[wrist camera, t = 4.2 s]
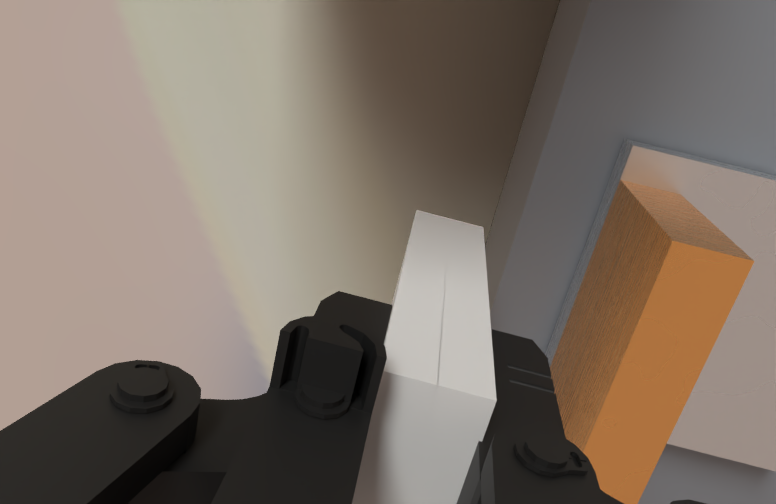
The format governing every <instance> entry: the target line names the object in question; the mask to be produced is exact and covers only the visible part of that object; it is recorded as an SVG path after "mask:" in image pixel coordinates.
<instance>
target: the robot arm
mask: <svg viewBox="0 0 776 504" xmlns="http://www.w3.org/2000/svg"><path fill="white" fill-rule="evenodd" d="M554 391H555V389H554V384H553V380H552V379H551V371H550V367H549V362H548V358H547V357H546V355H545V354H544V353H543V352H542V351H541V349H540V348H539V347H538V346H537V345H536V343H535V342H534V341H533V340H532V339H528V338H524V337H520V336H516V335H513V334H509V333H505V332H501V331H497V330H493V329H491V320H490V307H489V294H488V281H487V268H486V255H485V242H484V229H483V227H482V226H478V225H474V224H470V223H466V222H462V221H458V220H455V219H451V218H447V217H443V216H439V215H435V214H431V213H427V212H424V211H420V210H416V213H415V217H414V220H413V224H412V228H411V232H410V236H409V239H408V243H407V247H406V251H405V255H404V258H403V262H402V266H401V270H400V274H399V277H398V281H397V285H396V289H395V293H394V296H393V300H392V304H391V305H390V304H386V303H382V302H378V301H374V300H370V299H367V298H363V297H359V296H355V295H351V294H347V293H344V292H340V291H338V292H336V293H334V294H333V295H331V296H329V297H327V298H325V299H324V300H322V301H321V302H320V304H319V306H318V309H317V311H316V313H315V315H314V316H309V317H302V318H299V319H296V320H293V321H290V322H289V323H288V324H287V325H286V326H285V327H283V328H282V329H281V330H280V336H279V341H278V346H277V351H276V356H275V362H274V367H273V372H272V377H271V382H270V387H269V389H268V391H267V393H265V394H262V395H260V396H257V397H252V398H248V399H242V400H241V399H240V400H215V399H200V397H201V396H200V395H201V389H200V387H199V385H198V384H197V382H196V381H195V379H194V378H193V376H191V375H190V374H188V373H186V372H185V371H183V370H182V369H180V368H179V367H176V366H172V365H169V364H166V363H162V362H158V361H142V360H135V361H129V362H123V363H117V364H113V365H111V366H108V367H106V368H104V369H101V370H99V371H96V372H95V373H93V374H92V375H90V376H88V377H87V378H85V379H83V380H82V381H80V382H79V383H77V384H75V385H74V386H72V387H71V388H69V389H67V390H66V391H64V392H62V393H61V394H59V395H58V396H56V397H54V398H53V399H51V400H49V401H48V402H46V403H45V404H43V405H42V406H40V407H38V408H37V409H35V410H33V411H32V412H30V413H28V414H27V415H25V416H24V417H22V418H20V419H19V420H17V421H16V422H14V423H13V424H11V425H9V426H7V427H6V428H4V429H3V430H1V431H0V504H624V503H622V502H620V501H618V500H617V499H615V498H613V497H611V496H610V495H608V494H606V493H605V492H603V491H602V490H601V489H600V487H599V483H598V480H597V476H596V472H595V470H594V468H593V466H592V464H591V463H590V461H589V459H588V457H587V456H586V455H585V454H584V453H583V452H582V451H581V450H580V449H579V448H578V447H577V446H576V445H575V444H574V443H572V442H570V441H569V440H567V439H566V437H565V433H564V428H563V424H562V420H561V415H560V411H559V406H558V402H557V398H556V394H554ZM670 504H706V503H702V502H698V501H693V500H689V499H688V500H677V501H672V502H671V503H670Z"/></svg>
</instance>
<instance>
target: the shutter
mask: <svg viewBox="0 0 776 504" xmlns="http://www.w3.org/2000/svg"><path fill="white" fill-rule="evenodd" d="M545 355H546V357H547V358H548V362H549V367H550V371H551V379H552V380H553V384H554V389H555V391H554V394H556V398H557V402H558V406H559V411H560V415H561V420H562V424H563V428H564V433H565V437H566V439H567V440H569V441H570V442H572V443H574V444H575V445H576V446H577V447H578V448H579V449H580V450H581V451H582V452H583V453H584V454H585V455H586V456H587V457H588V459H589V461H590V463H591V464H592V466H593V468H594V470H595V472H596V476H597V480H598V483H599V487H600V489H601V490H602V491H603V492H605V493H606V494H608V495H610V496H611V497H613V498H615V499H617V500H618V501H620V502H622V503H624V504H638V502H639V500H640V498H641V495H642V493H643V491H644V489H645V487H646V485H647V483H648V481H649V479H650V477H651V475H652V473H653V471H654V469H655V466H656V464H657V462H658V460H659V458H660V456H661V454H662V452H663V450H664V448H665V446H666V444H670V445H674V446H678V447H682V448H686V449H690V450H694V451H698V452H702V453H706V454H709V455H713V456H717V457H721V458H725V459H729V460H733V461H737V462H741V463H745V464H749V465H752V466H756V467H760V468H764V469H768V470H772V471H776V175H772V174H768V173H764V172H760V171H756V170H751V169H747V168H743V167H739V166H735V165H731V164H727V163H723V162H719V161H715V160H711V159H707V158H703V157H699V156H695V155H691V154H687V153H683V152H678V151H674V150H670V149H666V148H662V147H658V146H654V145H650V144H646V143H642V142H638V141H634V140H630V139H626V138H625V139H624V142H623V145H622V147H621V150H620V153H619V155H618V158H617V161H616V164H615V166H614V169H613V172H612V174H611V177H610V180H609V182H608V185H607V188H606V191H605V193H604V196H603V199H602V201H601V204H600V207H599V210H598V212H597V215H596V218H595V220H594V223H593V226H592V229H591V231H590V234H589V237H588V239H587V242H586V245H585V248H584V250H583V253H582V256H581V258H580V261H579V264H578V266H577V269H576V272H575V275H574V277H573V280H572V283H571V285H570V288H569V291H568V294H567V296H566V299H565V302H564V304H563V307H562V310H561V313H560V315H559V318H558V321H557V323H556V326H555V329H554V332H553V334H552V337H551V340H550V342H549V345H548V348H547V350H546V353H545Z"/></svg>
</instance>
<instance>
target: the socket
mask: <svg viewBox="0 0 776 504" xmlns="http://www.w3.org/2000/svg"><path fill="white" fill-rule="evenodd" d="M625 138H626V139H630V140H634V141H638V142H642V143H646V144H650V145H654V146H658V147H662V148H666V149H670V150H674V151H678V152H683V153H687V154H691V155H695V156H699V157H703V158H707V159H711V160H715V161H719V162H723V163H727V164H731V165H735V166H739V167H743V168H747V169H751V170H756V171H760V172H764V173H768V174H772V175H776V0H560V2H559V5H558V9H557V12H556V15H555V19H554V22H553V25H552V28H551V32H550V35H549V38H548V42H547V45H546V48H545V51H544V55H543V58H542V61H541V65H540V68H539V71H538V74H537V78H536V81H535V84H534V87H533V91H532V94H531V97H530V101H529V104H528V107H527V110H526V114H525V117H524V120H523V124H522V127H521V130H520V133H519V137H518V140H517V143H516V147H515V150H514V153H513V156H512V160H511V163H510V166H509V169H508V173H507V176H506V179H505V183H504V186H503V189H502V192H501V196H500V199H499V202H498V206H497V209H496V212H495V215H494V219H493V222H492V225H491V229H490V232H489V235H488V238H487V242H486V245H485V255H486V268H487V281H488V294H489V307H490V320H491V329H493V330H497V331H501V332H505V333H509V334H513V335H516V336H520V337H524V338H528V339H532V340H533V341H534V342H535V343H536V345H537V346H538V347H539V348H540V349H541V351H542V352H543V353H544V354H545V353H546V350H547V348H548V345H549V342H550V340H551V337H552V334H553V332H554V329H555V326H556V323H557V321H558V318H559V315H560V313H561V310H562V307H563V304H564V302H565V299H566V296H567V294H568V291H569V288H570V285H571V283H572V280H573V277H574V275H575V272H576V269H577V266H578V264H579V261H580V258H581V256H582V253H583V250H584V248H585V245H586V242H587V239H588V237H589V234H590V231H591V229H592V226H593V223H594V220H595V218H596V215H597V212H598V210H599V207H600V204H601V201H602V199H603V196H604V193H605V191H606V188H607V185H608V182H609V180H610V177H611V174H612V172H613V169H614V166H615V164H616V161H617V158H618V155H619V153H620V150H621V147H622V145H623V142H624V139H625ZM688 499H689V500H693V501H698V502H702V503H706V504H776V471H772V470H768V469H764V468H760V467H756V466H752V465H749V464H745V463H741V462H737V461H733V460H729V459H725V458H721V457H717V456H713V455H709V454H706V453H702V452H698V451H694V450H690V449H686V448H682V447H678V446H674V445H670V444H666V446H665V448H664V450H663V452H662V454H661V456H660V458H659V460H658V462H657V464H656V466H655V469H654V471H653V473H652V475H651V477H650V479H649V481H648V483H647V485H646V487H645V489H644V491H643V493H642V495H641V498H640V500H639V502H638V504H670V503H671V502H672V501H677V500H688Z"/></svg>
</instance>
